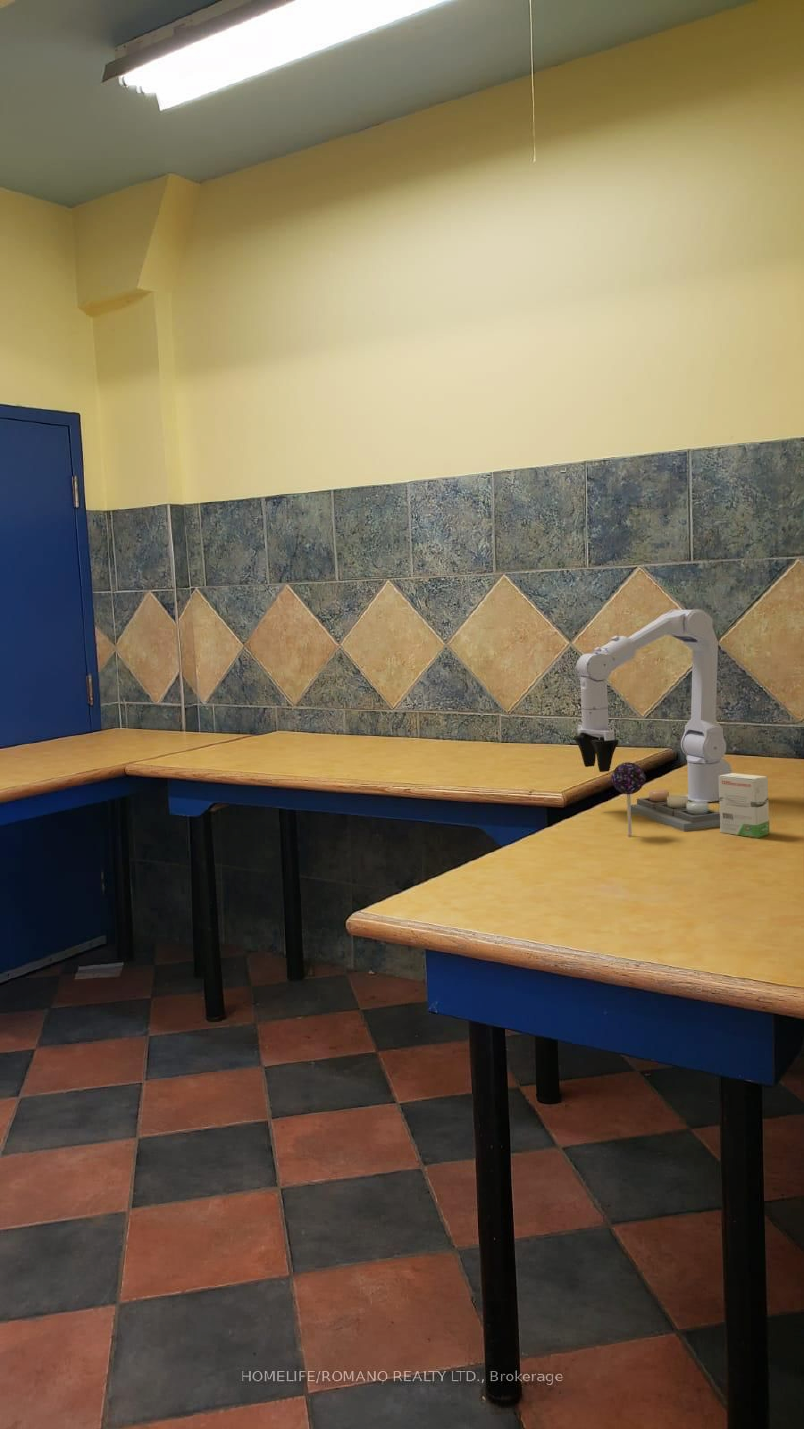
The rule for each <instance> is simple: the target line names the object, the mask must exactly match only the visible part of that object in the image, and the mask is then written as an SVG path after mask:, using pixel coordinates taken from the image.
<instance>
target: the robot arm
mask: <svg viewBox="0 0 804 1429" xmlns="http://www.w3.org/2000/svg"><path fill="white" fill-rule="evenodd" d="M713 620H714V619H713V618H712V616H710V615H709V614H708V612H706V611H704V610H703V609H700V608H699V609H698V608H697V609H696V608H695V609H679V608H674V609H670V610H669V611H668V612H665V613H662V614H661V615H660V616H659V617H658V618H656V619H654V620H653V621H651V622H649V623H648V624H647V625H645V626H644V627H641V629H639V630H638V631H636V632H635V633H633V634H631V635H630V636H624V635H620V636H619V635H615V636H612V637H611V638H610V641H609V642H608V643H606V644H604V645H602V646H597V647H595V648H594V650H593V653H583V654H582V655H581V656H580V657H579V658H578V660H577V662H576V666H574V672H575V673H576V676H578V678H579V681H580V682H579V684H580V702H581V703H580V704H581V707H580V708H581V724H580V723H579V724H577V733H578V734H579V735H575V736H574V737H573V739H574V741H575V742H576V744H577V746H578V748H579V751H580V754H581V758H582V761H583V764H584V767H586V768H589V767H595V764H596V762H597V768H598V772H599V773H605V772H610V770H611V765H612V759H613V756H614V752H615V750H616V748H617V746H618V745H619V739H615V731H614V730H612V729H611V728H610V726H609V703H608V702H609V700H608V680H607V679H609V677H610V676H611V674H612V671H614V670H616V669H617V668H619V667H622V666H623V665H624V664H626V663H628V662H630V661H631V660H633V659H635V657H636V653H637V650H640V649H642V648H643V647H646V646H647V645H649V644H651V643H653V642H655V641H657V640H658V639H660V638H663V637H664V636H670V637H672V638H675V639H676V640H680V641H682V642H683V643H684V644H685V645H686V646H687V647H688V648H689V649H691V651H692V664H691V665H692V668H691V669H692V671H691V674H692V675H691V676H692V677H691V700H690V701H691V707H690V708H691V710H690V719H689V721H687V722H686V724H685V725H684V732H683V735H682V737H681V740H680V748H681V751H682V753H683V754H684V755H685V758H686V760H687V762H686V763H687V793H688V794H683V795H682V794H681V796H687V797H688V801H689V802H694V801H701V802H707V803H710V802H711V803H712V802H719V779H718V777H719V776H720V775H724V774H730V773H733V772H732V771H733V770H732V767H731V764H730V763H729V761H727V760H726V759H723V757H724V756H725V754H726V751H727V743H726V742H727V741H726V740H725V738H724V729H723V727H722V725H721V724H720V723H719V722H718V720H717V695H718V694H717V690H718V689H717V688H718V687H717V686H718V658H719V655H718V654H719V642H718V638H717V635H716V633H715V631H714V627H713V623H714V622H713Z"/></svg>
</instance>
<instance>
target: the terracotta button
mask: <svg viewBox="0 0 804 1429" xmlns="http://www.w3.org/2000/svg"><path fill="white" fill-rule="evenodd" d="M668 796H670V791H669V790H666V789H652V790H648V797H649V801H653V802H664V801H667V797H668Z"/></svg>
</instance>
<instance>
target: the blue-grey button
mask: <svg viewBox="0 0 804 1429" xmlns="http://www.w3.org/2000/svg"><path fill="white" fill-rule="evenodd" d="M686 807H687V813H689V814H706V813H708V812H709V809H710V808H709V802H701V801H688V803H686Z"/></svg>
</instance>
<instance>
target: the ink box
mask: <svg viewBox="0 0 804 1429" xmlns="http://www.w3.org/2000/svg"><path fill="white" fill-rule="evenodd" d="M718 779H719V801H718V802H719V812H720V826H719V828H720V832H719V833H722V834H729V835H736V836H743V837H746V838H747V837H749V838H756V839H759V838H762V837H764V836H766V835H770V832H771V831H770V812H769V810H770V809H769V805H770V804H769V784H768V782H769V781H768V779H769V777H768V776H764V775H756V774H746V773H735V772H732V773H730V774H724V775H720V776H719V777H718Z"/></svg>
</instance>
